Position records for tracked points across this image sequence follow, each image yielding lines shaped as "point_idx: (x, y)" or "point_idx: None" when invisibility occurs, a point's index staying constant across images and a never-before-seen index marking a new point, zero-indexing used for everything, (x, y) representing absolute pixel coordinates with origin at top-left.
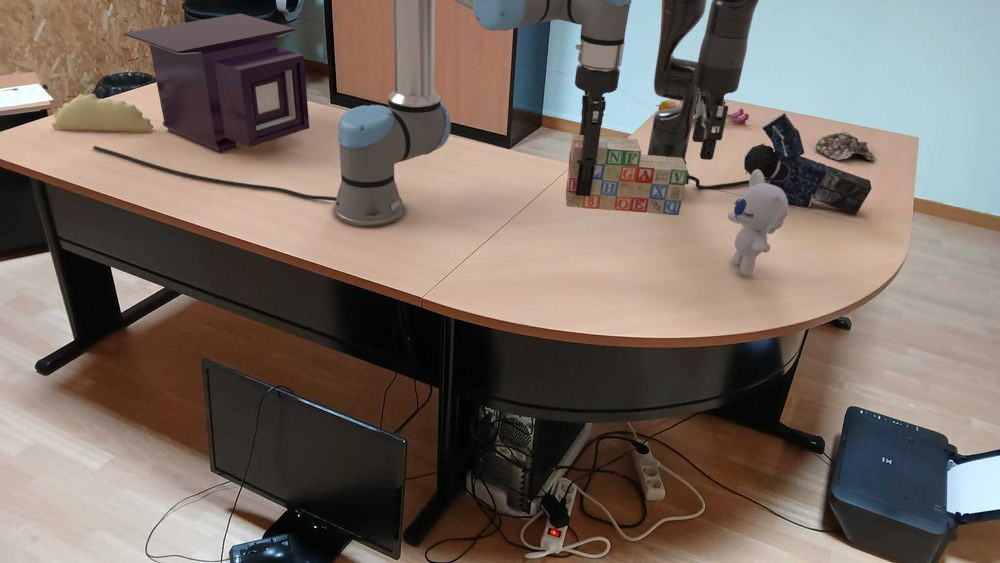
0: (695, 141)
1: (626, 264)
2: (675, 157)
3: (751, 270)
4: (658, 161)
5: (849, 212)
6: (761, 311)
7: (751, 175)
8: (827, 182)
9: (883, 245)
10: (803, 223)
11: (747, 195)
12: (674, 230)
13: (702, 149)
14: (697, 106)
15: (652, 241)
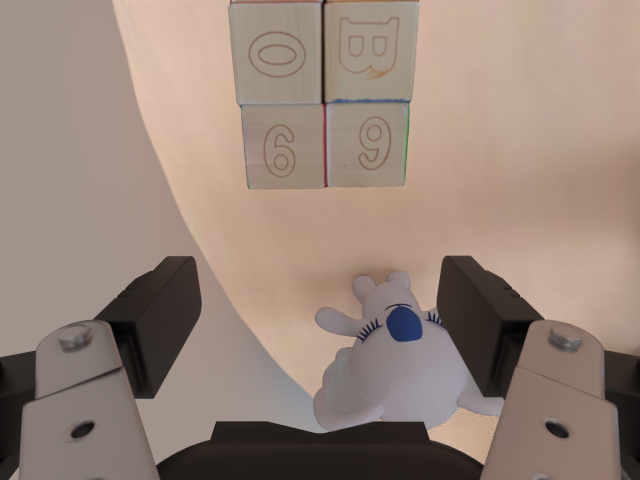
0: (442, 267)
1: None
2: (404, 150)
3: (354, 292)
4: (330, 40)
5: None
6: (258, 282)
7: None
8: (622, 475)
9: None
10: None
11: (413, 352)
12: (525, 186)
13: (143, 281)
14: (569, 445)
15: (478, 134)
